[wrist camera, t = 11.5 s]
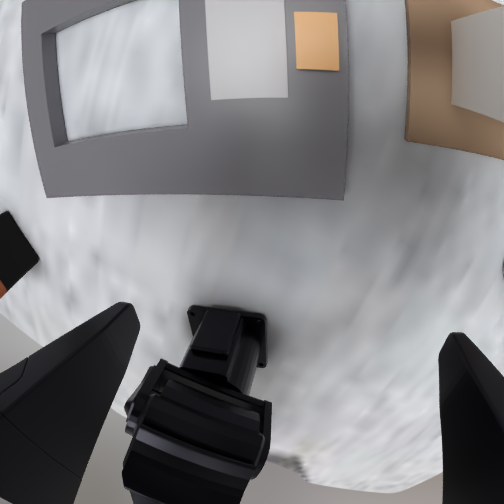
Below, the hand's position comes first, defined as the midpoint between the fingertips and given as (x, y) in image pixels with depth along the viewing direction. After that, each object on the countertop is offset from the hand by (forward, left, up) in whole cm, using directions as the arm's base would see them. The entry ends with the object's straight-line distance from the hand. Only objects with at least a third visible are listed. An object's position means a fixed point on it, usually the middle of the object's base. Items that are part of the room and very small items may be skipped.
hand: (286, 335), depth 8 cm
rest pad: (+8, -10, -12) cm, 18 cm away
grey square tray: (+8, +9, -12) cm, 17 cm away
